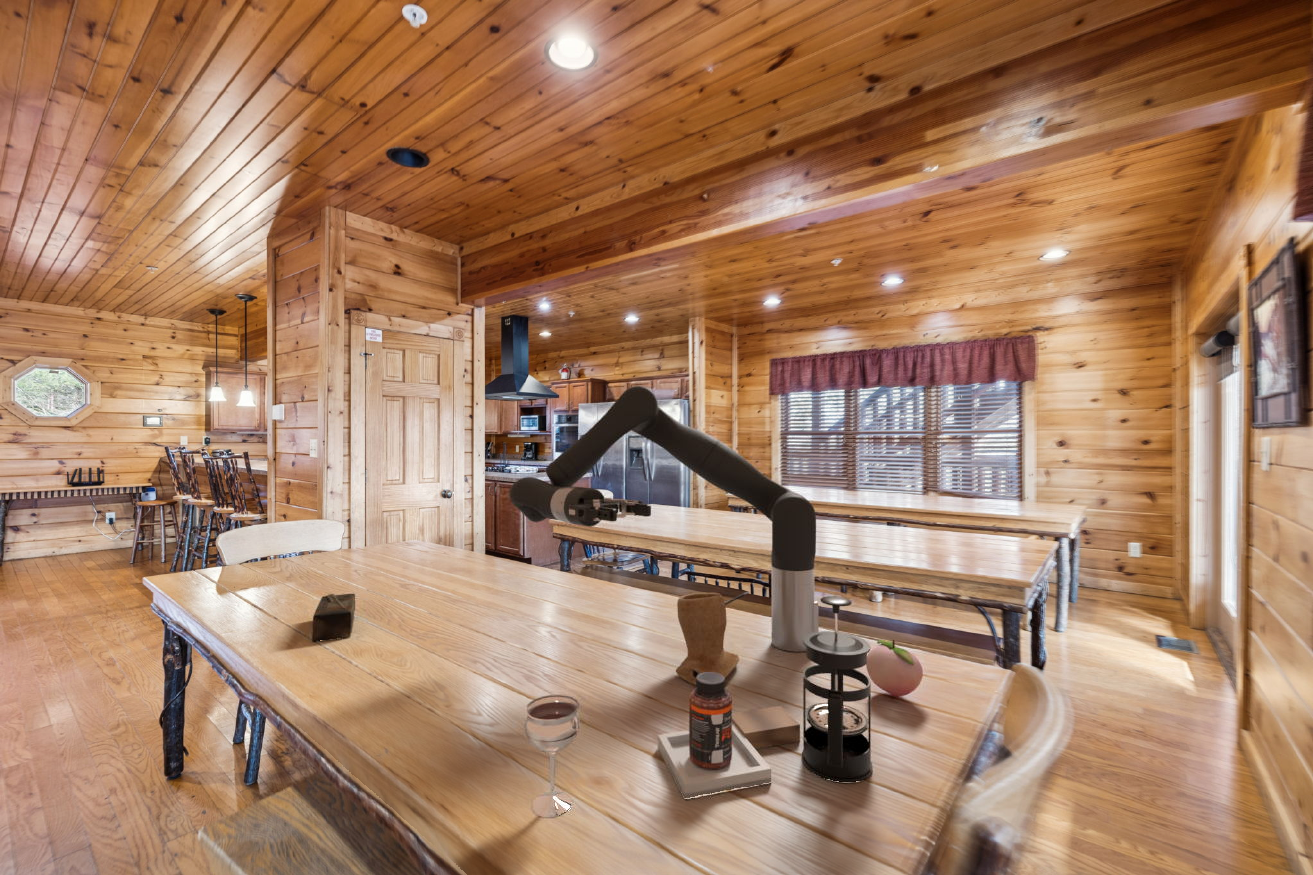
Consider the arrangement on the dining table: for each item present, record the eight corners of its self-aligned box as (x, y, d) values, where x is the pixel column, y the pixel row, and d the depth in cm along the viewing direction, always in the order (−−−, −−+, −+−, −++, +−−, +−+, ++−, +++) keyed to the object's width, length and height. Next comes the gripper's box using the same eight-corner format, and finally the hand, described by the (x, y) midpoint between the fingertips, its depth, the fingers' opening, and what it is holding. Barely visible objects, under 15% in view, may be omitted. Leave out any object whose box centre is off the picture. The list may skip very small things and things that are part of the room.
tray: (733, 736, 84) (733, 723, 84) (771, 783, 72) (771, 768, 72) (658, 748, 80) (658, 734, 80) (684, 800, 69) (684, 784, 69)
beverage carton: (356, 615, 143) (356, 589, 143) (352, 639, 126) (352, 610, 126) (320, 619, 139) (320, 593, 139) (311, 644, 122) (311, 615, 122)
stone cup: (691, 653, 116) (691, 582, 116) (745, 663, 111) (745, 589, 111) (659, 681, 103) (659, 601, 103) (718, 694, 97) (718, 610, 97)
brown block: (780, 721, 88) (780, 705, 88) (800, 741, 82) (799, 724, 82) (728, 729, 85) (728, 713, 85) (744, 750, 80) (744, 733, 80)
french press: (804, 737, 83) (804, 585, 83) (871, 748, 80) (870, 591, 80) (797, 782, 72) (797, 608, 72) (874, 798, 69) (873, 615, 69)
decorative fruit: (854, 690, 99) (854, 634, 99) (888, 682, 102) (888, 628, 102) (896, 714, 90) (896, 653, 90) (932, 704, 93) (931, 645, 94)
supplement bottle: (730, 774, 73) (729, 688, 73) (685, 768, 74) (685, 684, 74) (734, 749, 78) (733, 670, 79) (692, 744, 80) (692, 666, 80)
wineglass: (513, 814, 66) (513, 714, 66) (543, 781, 72) (543, 690, 73) (562, 828, 64) (562, 725, 64) (589, 793, 70) (589, 699, 70)
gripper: (548, 489, 105) (603, 495, 94) (604, 484, 116) (660, 489, 104) (548, 528, 105) (603, 538, 94) (604, 520, 116) (660, 529, 104)
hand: (633, 513), depth 99 cm, fingers open, 8 cm apart
